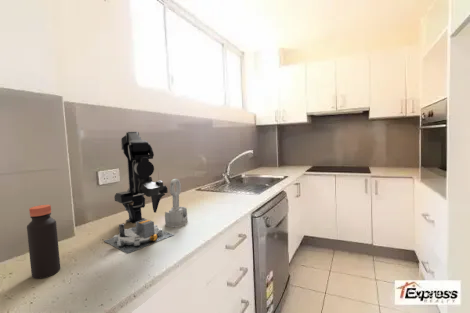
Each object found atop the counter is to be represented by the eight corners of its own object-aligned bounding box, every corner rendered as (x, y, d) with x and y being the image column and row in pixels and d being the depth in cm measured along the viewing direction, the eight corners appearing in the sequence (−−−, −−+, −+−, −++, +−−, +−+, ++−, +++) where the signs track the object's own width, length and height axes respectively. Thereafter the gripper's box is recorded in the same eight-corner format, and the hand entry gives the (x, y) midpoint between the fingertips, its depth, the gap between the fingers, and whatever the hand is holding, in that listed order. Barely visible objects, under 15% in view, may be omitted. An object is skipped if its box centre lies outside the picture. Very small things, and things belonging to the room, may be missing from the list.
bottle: (44, 267, 76) (38, 204, 74) (65, 266, 75) (60, 203, 74) (25, 279, 69) (18, 210, 68) (48, 279, 69) (41, 209, 67)
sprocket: (109, 250, 85) (108, 232, 84) (118, 232, 102) (116, 217, 101) (162, 241, 90) (161, 224, 90) (162, 226, 107) (161, 211, 107)
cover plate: (103, 241, 94) (103, 240, 94) (147, 226, 109) (147, 226, 109) (127, 253, 82) (127, 253, 82) (173, 235, 97) (173, 234, 97)
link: (136, 234, 93) (135, 221, 93) (146, 231, 96) (145, 218, 96) (144, 238, 89) (144, 224, 89) (154, 234, 92) (153, 221, 92)
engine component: (161, 226, 108) (182, 227, 106) (158, 181, 107) (179, 181, 105) (172, 218, 119) (191, 219, 117) (169, 177, 118) (189, 177, 116)
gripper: (127, 179, 79) (131, 226, 80) (175, 172, 93) (177, 212, 94) (112, 177, 86) (115, 221, 87) (158, 171, 100) (160, 208, 101)
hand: (144, 215), depth 92 cm, fingers open, 9 cm apart
